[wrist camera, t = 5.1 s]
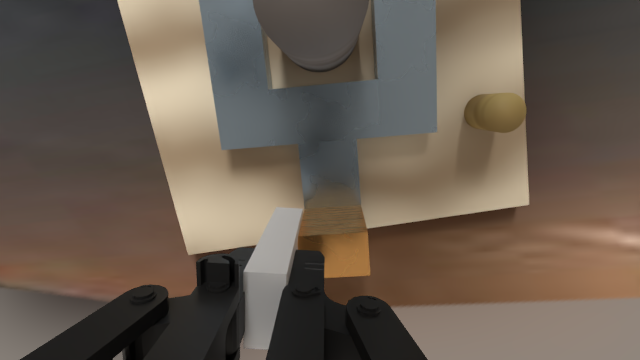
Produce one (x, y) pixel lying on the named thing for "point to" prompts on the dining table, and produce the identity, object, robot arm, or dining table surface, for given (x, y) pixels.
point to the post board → (373, 153)
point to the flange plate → (325, 113)
